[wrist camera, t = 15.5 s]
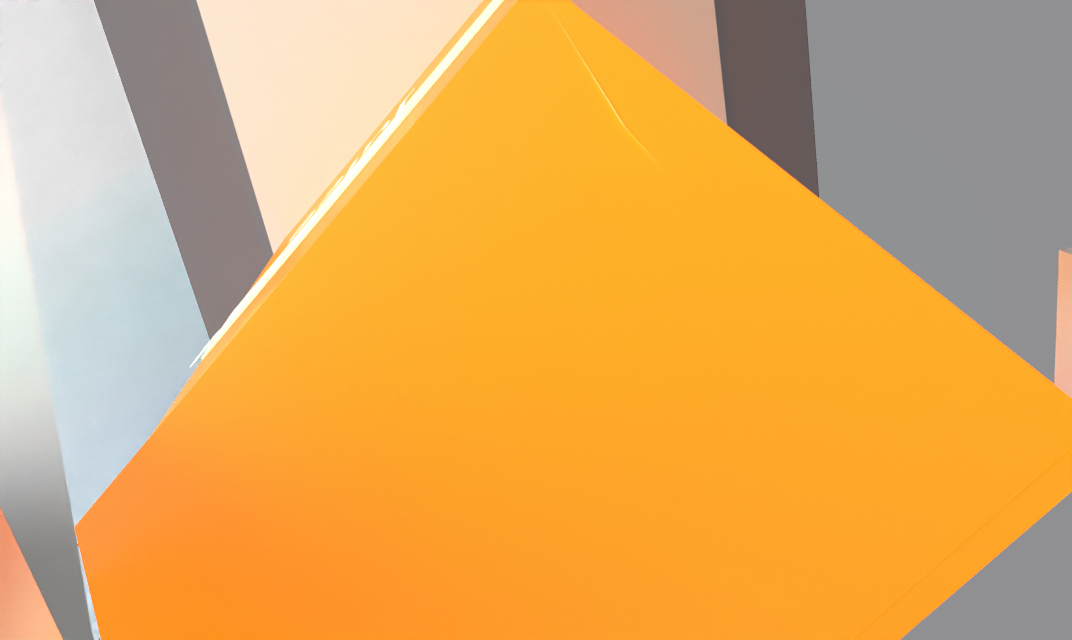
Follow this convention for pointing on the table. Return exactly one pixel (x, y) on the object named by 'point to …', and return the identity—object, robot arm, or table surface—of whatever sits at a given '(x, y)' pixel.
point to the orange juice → (574, 391)
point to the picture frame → (385, 100)
